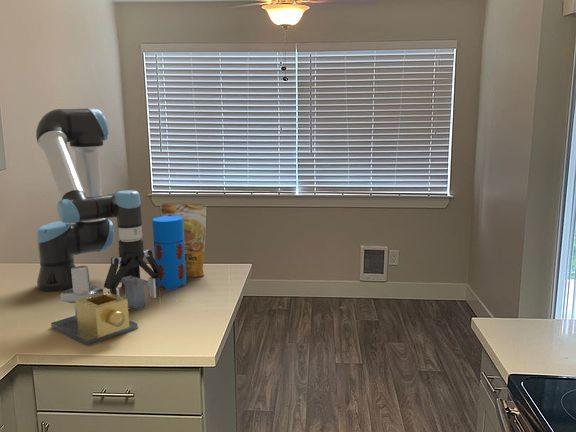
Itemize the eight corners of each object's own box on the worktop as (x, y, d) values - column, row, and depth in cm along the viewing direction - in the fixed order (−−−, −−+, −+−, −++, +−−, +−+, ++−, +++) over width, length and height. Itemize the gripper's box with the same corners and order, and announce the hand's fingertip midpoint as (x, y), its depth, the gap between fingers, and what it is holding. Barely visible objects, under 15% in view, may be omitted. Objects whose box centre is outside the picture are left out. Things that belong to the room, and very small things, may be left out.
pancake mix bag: (167, 270, 222) (163, 202, 217) (211, 273, 217) (208, 203, 212) (159, 275, 215) (154, 205, 210) (204, 278, 211) (201, 206, 206)
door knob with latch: (49, 326, 165) (43, 270, 162) (98, 311, 177) (93, 259, 173) (94, 349, 148) (88, 287, 145) (144, 331, 160) (140, 273, 157)
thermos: (172, 291, 196) (167, 222, 191) (150, 287, 201) (145, 220, 197) (192, 283, 205) (189, 217, 200) (171, 279, 210) (167, 215, 206)
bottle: (133, 289, 198) (129, 235, 195) (117, 288, 201) (113, 234, 197) (144, 284, 205) (140, 231, 201) (128, 282, 207) (124, 230, 203)
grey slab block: (122, 305, 182) (119, 278, 180) (132, 302, 185) (130, 275, 183) (139, 312, 176) (137, 284, 174) (150, 309, 178) (148, 281, 177)
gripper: (101, 248, 164) (107, 315, 168) (169, 233, 183) (173, 294, 187) (88, 244, 169) (94, 310, 173) (156, 230, 188) (160, 290, 192)
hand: (135, 302), depth 180 cm, fingers open, 13 cm apart
